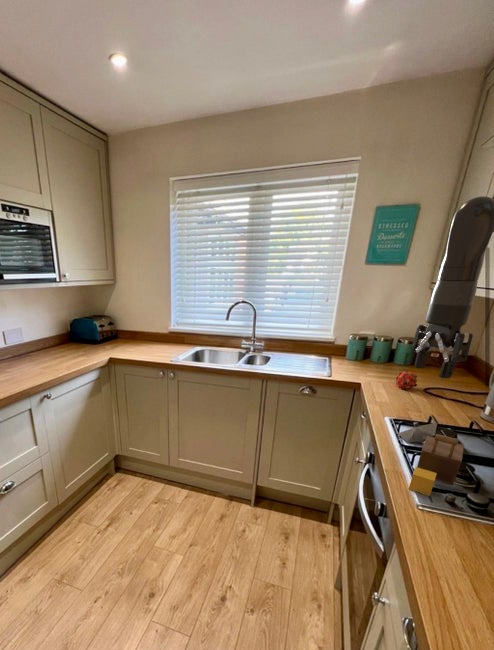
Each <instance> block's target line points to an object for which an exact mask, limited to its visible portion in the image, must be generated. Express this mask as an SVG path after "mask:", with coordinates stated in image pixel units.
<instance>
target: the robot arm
mask: <svg viewBox="0 0 494 650" xmlns="http://www.w3.org/2000/svg"><path fill="white" fill-rule="evenodd" d="M451 220H452V221H451V225H450V230H449V234H448V240H447V245H446V251H445V255H444V257H443V259H442V261H441V265H440V268H439V272H438V276H437V280H436V283H435V286H434V287H433V291H432V294H431V297H430V302H429V305H428V307H427V312H426V317H425V320H424V321H425V323H427V324H418V325H417V327H416V331H415V333H414V338H413V341H412V344H411V349H412V350H414V349H415V352H416V356H415V359H414V365H413V366H414V368H415V369H424V368H425V367H426V364H427V361H428V357H429V352H430V351H431V350H432V349H433V348H435V349H438V350H439V353H440V354H442V358H443V360H444V361H442V364H441V368H440V372H439V374H438V377H439V378H441V379H450V378H451V377H452V376H453V374H454V371H455V367H456V365H457V363H459V362H466V361H468V356H469V352H470V348H471V345H472V340H473V337H474V335H473V333H472V332H466V333H465V332H464V333H463V332H462V331H461V329H462V327H463V326H465V325H467V323H468V321H469V317H470V313H471V310H472V307H473V304H474V300H475V297H476V294H477V289H478V288H477V287H478V283H479V279H480V275H481V272H482V269H483V265H484V261H485V256H486V251H487V249H488V246H489V244H490V241H491V239H492V236H493V234H494V196H493V197H491V196H487V195H485V196H484V195H482V196H481V195H480V196H476V197H473V198H470V199H469V200H467V201H465V202H464V203H463V204H462V205H460V206H459V207H458V208H457V210H456V211H455V213H454V215H453V217H452V219H451ZM460 352H461V353H460ZM450 355H451V356H450Z"/></svg>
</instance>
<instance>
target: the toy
mask: <svg viewBox="0 0 494 650" xmlns="http://www.w3.org/2000/svg"><path fill="white" fill-rule="evenodd" d="M436 474H437V473H434V472H431V471H428V470H425V469H421V468H418V467H417V466H415V467H414V469H413V473H412V476H411V479H410V482H409V486H408V490H411V491H413V490H414V491H413V492H416V491H417V492H416V493H419V492H420V493H419V494H422V495H425V496H428V497H430V496H431V494H432V492H433V491H432V490H433V488H434V485H435V481H436V480H435V478H436Z"/></svg>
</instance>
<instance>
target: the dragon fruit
mask: <svg viewBox="0 0 494 650" xmlns="http://www.w3.org/2000/svg"><path fill="white" fill-rule="evenodd" d="M417 378H418V376H417V375H416V374H415V373H413V372H412V371H408V370H404V371H403V372H399V373H398V374H397V375H396V377H395V378H394V379H395V380H394V382H395V385H396V386H398V388H399V389H400V390H404V389H409V390H411V389H412V388H415V387H417V386H418V383H417V382H418V379H417Z"/></svg>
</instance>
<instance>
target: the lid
mask: <svg viewBox="0 0 494 650" xmlns="http://www.w3.org/2000/svg"><path fill="white" fill-rule="evenodd" d="M458 442H459V439H458V438H454V437H450V436H446V435H442V434H438V433H435V435H434V436H433V437H430V436H427V438H426V440H425V441H424V442H423V443H424V444H423V446H422V449H421V452H420V454H421V453H423V454H426V455H430V456H433V457H437V458H441V459H444V460H448V461H451V462H455V463H459V464H460V465H461V464H462V461H463V456H464V448H465V445H464V444H461V443H458Z"/></svg>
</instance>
